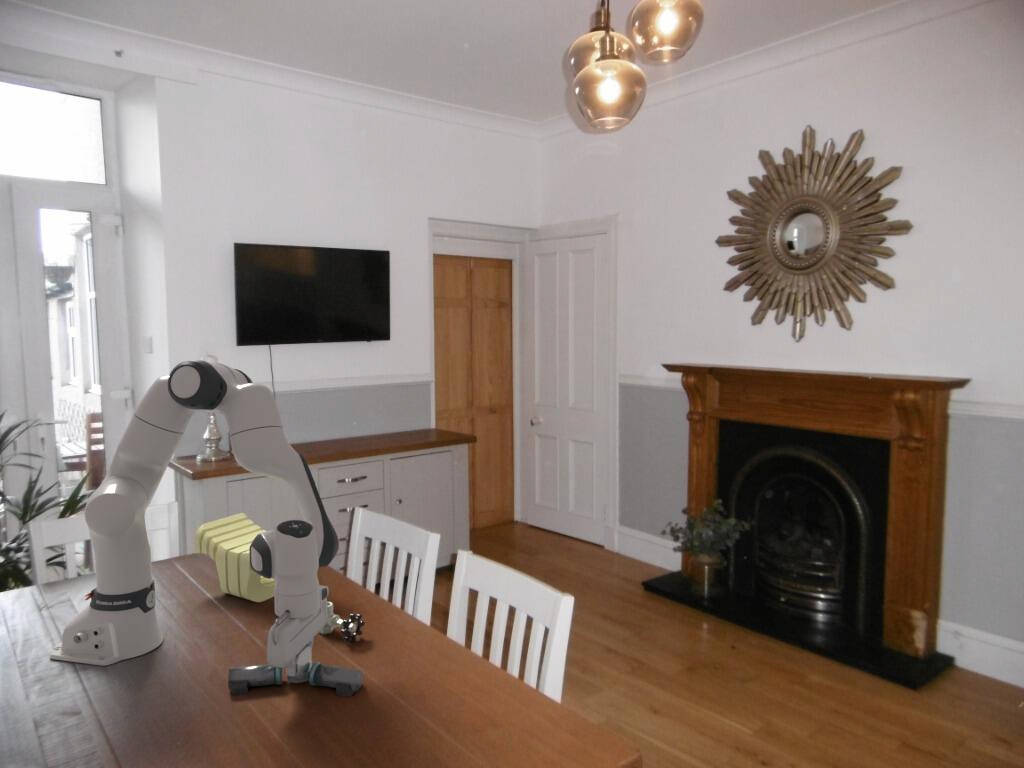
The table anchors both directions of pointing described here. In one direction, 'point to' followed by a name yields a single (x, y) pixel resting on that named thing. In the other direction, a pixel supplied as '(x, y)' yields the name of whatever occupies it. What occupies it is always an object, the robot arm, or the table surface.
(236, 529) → the slatted curved stool
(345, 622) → the valve
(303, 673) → the coupler
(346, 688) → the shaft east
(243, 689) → the grey pipe fitting
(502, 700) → the table surface
